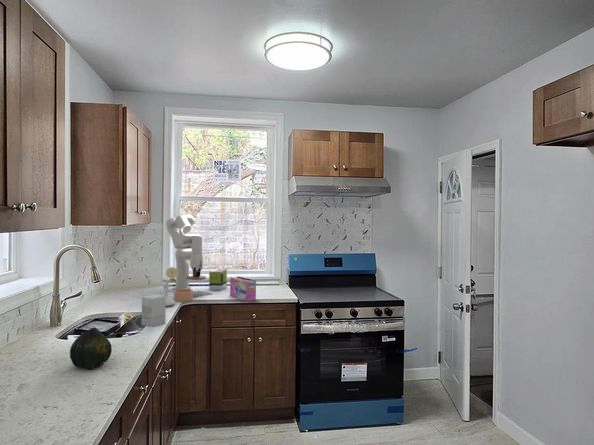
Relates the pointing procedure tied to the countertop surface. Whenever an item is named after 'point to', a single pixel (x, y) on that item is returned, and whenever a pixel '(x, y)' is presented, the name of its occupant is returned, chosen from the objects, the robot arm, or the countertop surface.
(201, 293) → the mat
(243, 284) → the gum box
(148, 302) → the grey canister
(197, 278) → the lid
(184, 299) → the bowl
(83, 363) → the squash
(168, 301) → the flower in vase
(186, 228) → the robot arm
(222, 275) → the tea box
